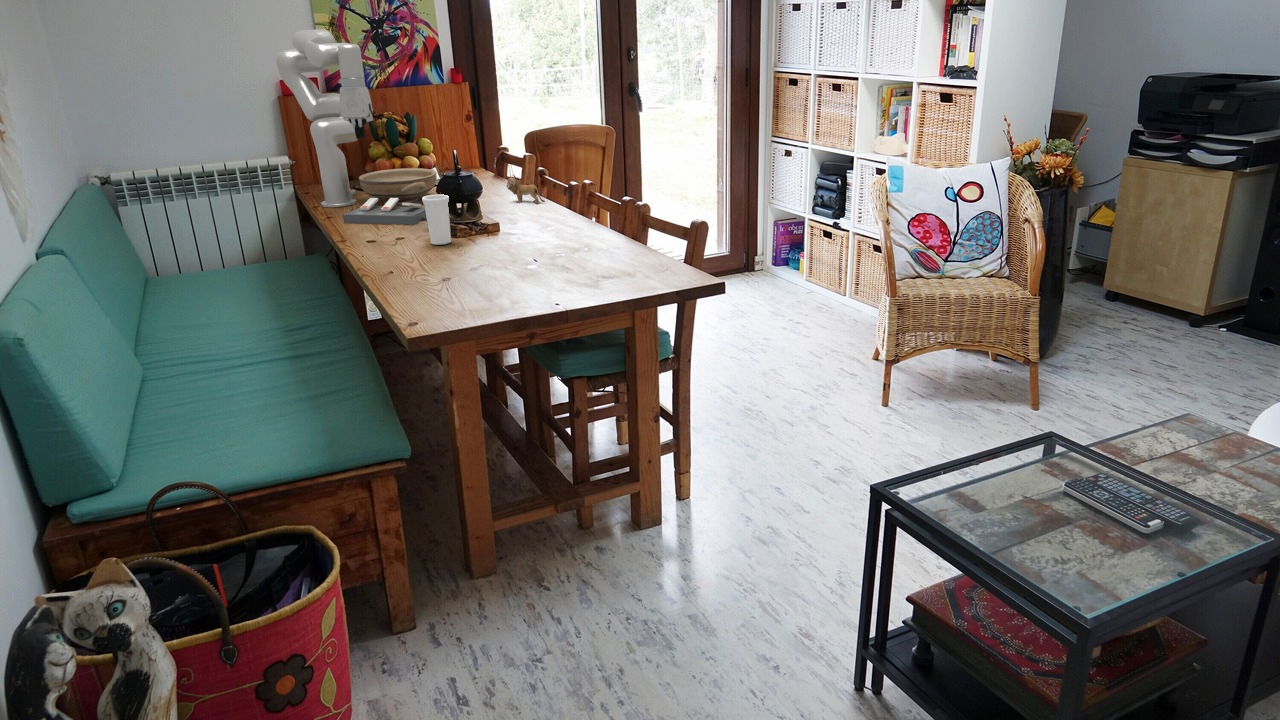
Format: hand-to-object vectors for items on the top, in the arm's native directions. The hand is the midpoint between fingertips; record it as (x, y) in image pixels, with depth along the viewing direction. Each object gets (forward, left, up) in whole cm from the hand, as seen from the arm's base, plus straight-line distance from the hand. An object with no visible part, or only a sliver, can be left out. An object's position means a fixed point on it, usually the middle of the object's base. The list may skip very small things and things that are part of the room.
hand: (360, 138), depth 300 cm
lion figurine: (-24, +49, -27) cm, 61 cm away
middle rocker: (+5, +11, -22) cm, 26 cm away
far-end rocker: (+5, +3, -22) cm, 23 cm away
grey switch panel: (+8, +14, -26) cm, 31 cm away
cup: (+37, +45, -27) cm, 64 cm away
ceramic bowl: (-23, -1, -27) cm, 35 cm away
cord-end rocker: (+5, +19, -22) cm, 30 cm away
